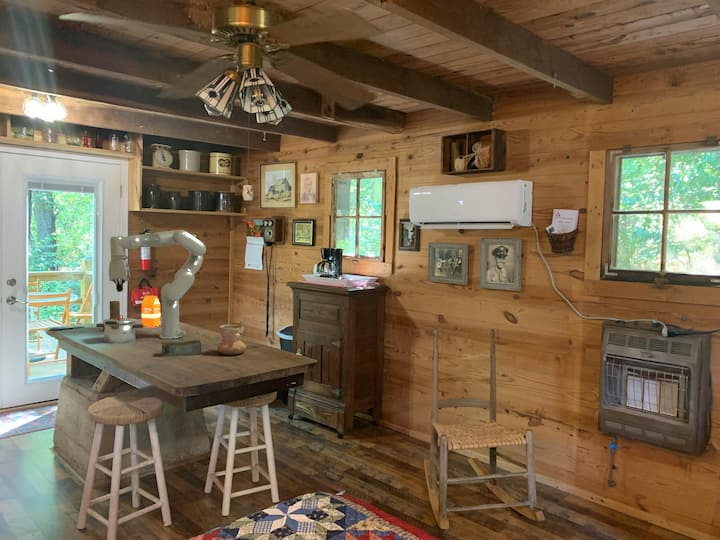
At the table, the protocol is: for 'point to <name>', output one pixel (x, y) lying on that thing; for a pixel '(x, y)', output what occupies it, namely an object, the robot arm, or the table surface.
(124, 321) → the lid
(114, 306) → the wooden block
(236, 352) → the ceramic jug
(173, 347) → the grey-green rectangular block
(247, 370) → the table surface
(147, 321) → the orange juice
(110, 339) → the pot
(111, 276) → the robot arm
